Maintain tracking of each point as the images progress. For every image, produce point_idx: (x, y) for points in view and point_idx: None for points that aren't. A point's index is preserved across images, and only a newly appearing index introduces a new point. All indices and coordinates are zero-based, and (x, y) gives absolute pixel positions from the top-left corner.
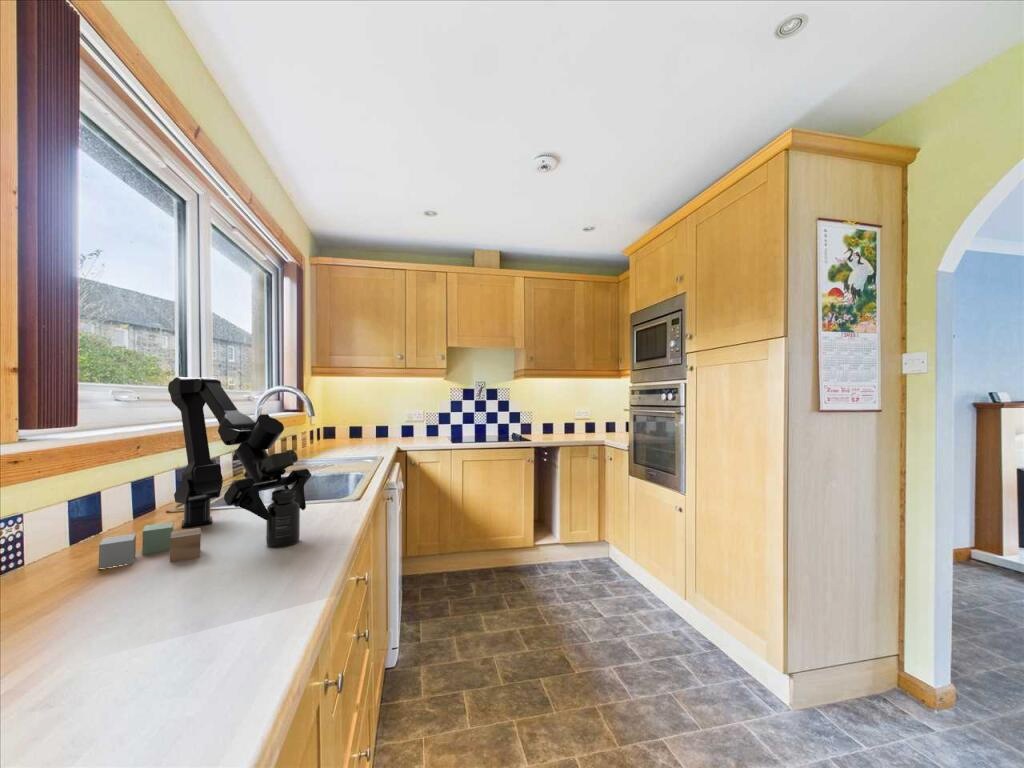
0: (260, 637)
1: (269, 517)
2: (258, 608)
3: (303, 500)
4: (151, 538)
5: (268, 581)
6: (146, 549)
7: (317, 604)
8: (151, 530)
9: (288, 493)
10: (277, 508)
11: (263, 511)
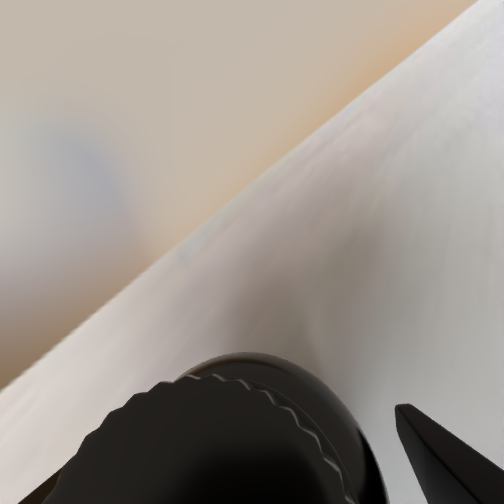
0: (481, 55)
1: (398, 404)
2: (472, 106)
3: (48, 489)
4: None
5: (431, 179)
6: None
7: (386, 81)
8: None
9: (217, 377)
10: (338, 409)
11: (468, 449)
